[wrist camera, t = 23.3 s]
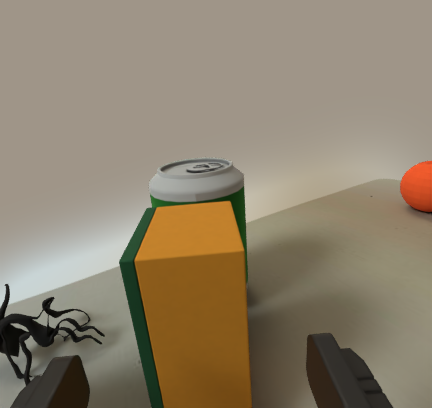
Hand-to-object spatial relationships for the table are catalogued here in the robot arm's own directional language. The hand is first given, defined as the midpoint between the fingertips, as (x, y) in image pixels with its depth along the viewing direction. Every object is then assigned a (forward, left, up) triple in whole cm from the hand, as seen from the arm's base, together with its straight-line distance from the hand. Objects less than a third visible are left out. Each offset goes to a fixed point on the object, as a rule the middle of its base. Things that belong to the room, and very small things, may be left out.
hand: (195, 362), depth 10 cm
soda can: (+1, -14, -8) cm, 16 cm away
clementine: (-29, -30, -8) cm, 43 cm away
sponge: (0, -5, -8) cm, 10 cm away
